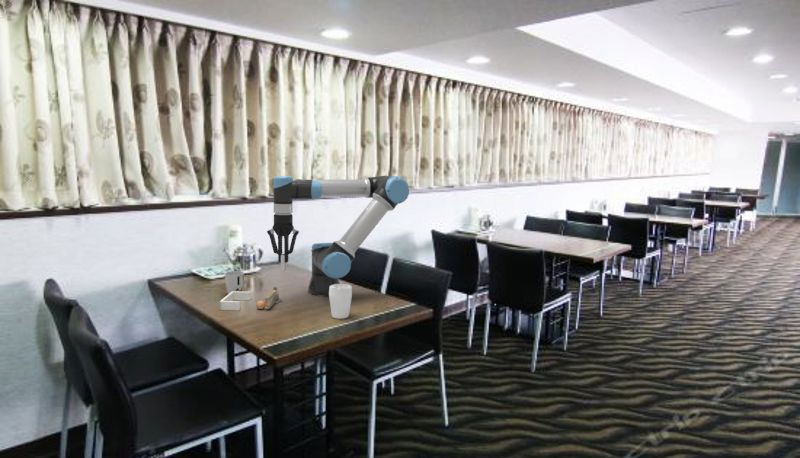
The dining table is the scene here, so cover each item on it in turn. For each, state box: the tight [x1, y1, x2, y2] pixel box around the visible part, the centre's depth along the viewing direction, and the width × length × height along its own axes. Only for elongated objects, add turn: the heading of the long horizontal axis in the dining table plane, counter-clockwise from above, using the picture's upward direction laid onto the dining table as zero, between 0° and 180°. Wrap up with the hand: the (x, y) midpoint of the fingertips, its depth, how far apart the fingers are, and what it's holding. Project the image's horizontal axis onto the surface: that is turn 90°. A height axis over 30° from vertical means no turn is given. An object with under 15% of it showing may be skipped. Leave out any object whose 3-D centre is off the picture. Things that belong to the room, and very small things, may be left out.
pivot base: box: [274, 297, 283, 304], centre depth 199 cm, size 6×6×1 cm
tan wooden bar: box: [264, 286, 280, 310], centre depth 193 cm, size 3×14×5 cm, turn 1°
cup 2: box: [328, 283, 353, 320], centre depth 182 cm, size 9×9×12 cm
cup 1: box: [224, 270, 245, 295], centre depth 206 cm, size 8×8×10 cm
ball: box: [256, 300, 265, 310], centre depth 188 cm, size 4×4×4 cm
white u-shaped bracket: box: [218, 291, 252, 312], centre depth 193 cm, size 8×15×4 cm, turn 1°
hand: (283, 269), depth 192 cm, fingers closed
